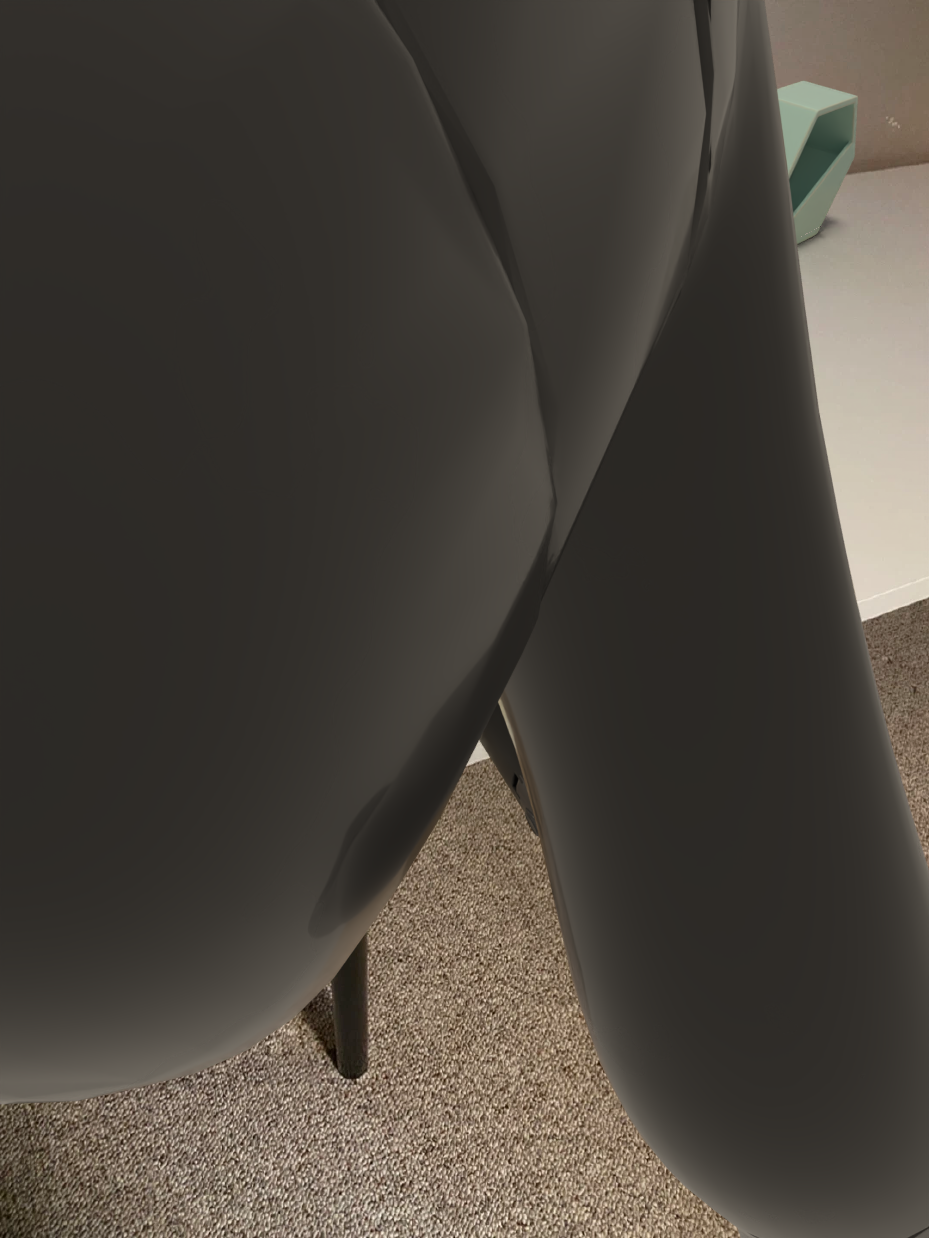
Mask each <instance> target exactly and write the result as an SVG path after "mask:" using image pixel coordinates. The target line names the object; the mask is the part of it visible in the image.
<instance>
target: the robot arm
mask: <svg viewBox="0 0 929 1238" xmlns="http://www.w3.org/2000/svg"><path fill="white" fill-rule="evenodd" d="M768 22H769V21H768V14H767V7H766V0H0V1105H17V1104H18V1105H19V1104H20V1105H21V1104H45V1103H67V1102H68V1103H69V1102H80V1101H85V1100H90V1099H93V1098H98V1097H103V1096H108V1095H111V1094H116V1093H121V1092H126V1091H130V1090H135V1089H139V1088H143V1087H147V1086H151V1085H155V1084H159V1083H164V1082H169V1081H172V1080H175V1079H179V1078H183V1077H188V1076H191V1075H195V1074H197V1073H199V1072H202V1071H204V1070H206V1069H209V1068H211V1067H213V1066H215V1065H218V1064H220V1063H222V1062H225V1061H226V1060H228V1059H231V1058H234V1057H236V1056H238V1055H241V1054H243V1053H245V1052H246V1051H249V1050H250V1049H251V1048H253V1047H254V1046H256V1045H257V1044H258V1043H260V1042H261V1041H263V1040H264V1039H265V1038H267V1037H268V1036H270V1035H271V1034H273V1033H274V1032H276V1031H277V1030H279V1029H280V1028H282V1027H284V1025H286V1024H287V1023H289V1022H291V1021H292V1020H293V1019H294V1018H295V1017H297V1016H298V1015H299V1013H301V1012H302V1010H304V1009H305V1007H306V1006H308V1004H310V1003H311V1001H313V1000H314V998H316V997H317V995H319V994H320V992H322V991H323V990H324V989H325V987H327V985H329V983H331V981H333V979H335V977H336V976H337V975H338V973H339V971H340V970H341V969H342V967H343V966H344V964H345V963H346V962H347V960H348V959H349V958H350V956H351V954H352V953H353V952H354V951H355V949H356V948H357V946H358V945H359V943H360V942H361V941H362V939H363V937H364V936H365V935H366V934H367V932H368V931H369V930H370V928H371V927H372V925H373V924H374V923H375V921H376V920H377V918H378V917H379V915H380V914H381V913H382V911H383V910H384V908H385V907H386V906H387V904H388V902H389V901H390V900H391V899H392V897H393V895H394V894H395V893H396V892H397V890H398V888H399V886H400V885H401V884H402V882H403V880H404V879H405V876H406V875H407V873H408V872H409V870H410V869H411V867H412V866H413V864H414V862H415V861H416V859H417V857H418V856H419V854H420V852H421V851H422V849H423V847H424V846H425V844H426V842H427V841H428V840H429V838H430V836H431V835H432V832H433V831H434V830H435V827H436V826H437V824H438V822H439V821H440V819H441V817H442V815H443V813H444V811H445V809H446V808H447V805H448V803H449V801H450V800H451V798H452V795H453V793H454V792H455V790H456V788H457V785H458V783H459V781H460V779H461V777H462V776H463V773H464V771H465V770H466V768H467V766H468V763H469V762H470V759H471V757H472V756H473V753H474V751H475V749H476V747H477V746H478V743H480V744H481V745H482V747H483V749H484V750H485V752H486V754H487V755H488V757H489V758H490V760H491V762H492V763H493V765H494V767H495V768H496V770H497V771H498V773H499V774H500V775H501V778H502V779H503V780H504V782H505V784H506V785H507V787H508V788H509V790H510V792H511V793H512V795H513V797H514V798H515V800H516V801H517V803H518V805H519V807H521V810H522V811H523V812H524V817H525V819H526V821H527V823H528V826H529V827H530V829H531V830H532V832H533V834H534V835H535V837H538V839H539V842H540V847H541V851H542V856H543V860H544V863H545V868H546V873H547V876H548V881H549V885H550V889H551V894H552V899H553V903H554V907H555V911H556V916H557V920H558V925H559V929H560V933H561V939H562V943H563V946H564V951H565V956H566V961H567V965H568V969H569V974H570V977H571V980H572V984H573V987H574V991H575V994H576V997H577V1001H578V1004H579V1007H580V1010H581V1013H582V1016H583V1018H584V1021H585V1025H586V1027H587V1030H588V1033H589V1036H590V1039H591V1041H592V1044H593V1047H594V1049H595V1052H596V1055H597V1058H598V1061H599V1063H600V1065H601V1068H602V1069H603V1071H604V1074H605V1076H606V1078H607V1080H608V1083H609V1084H610V1086H611V1089H612V1090H613V1092H614V1093H615V1095H616V1097H617V1099H618V1100H619V1103H620V1104H621V1106H622V1108H623V1110H624V1112H625V1113H626V1115H627V1117H628V1119H629V1121H630V1122H631V1123H632V1124H633V1126H634V1128H635V1129H636V1131H637V1132H638V1134H639V1136H640V1137H641V1139H642V1140H643V1142H645V1144H646V1145H647V1146H648V1147H649V1149H650V1150H651V1151H652V1152H653V1154H654V1155H655V1156H656V1157H657V1159H658V1160H660V1162H661V1163H662V1164H663V1165H664V1167H665V1168H666V1169H667V1170H668V1171H669V1172H670V1174H672V1175H673V1176H674V1178H676V1179H677V1181H679V1182H680V1184H682V1186H683V1187H685V1188H686V1189H687V1190H688V1191H690V1192H691V1193H692V1194H693V1195H695V1196H696V1198H698V1199H700V1200H701V1201H702V1202H703V1203H704V1204H706V1205H707V1206H708V1208H711V1209H712V1210H713V1211H714V1212H716V1213H717V1214H718V1215H719V1216H721V1217H722V1218H724V1219H725V1220H726V1221H727V1222H729V1223H730V1224H732V1225H733V1226H734V1227H736V1228H737V1231H738V1234H739V1238H929V865H928V862H927V859H926V855H925V852H924V849H923V846H922V843H921V839H920V837H919V833H918V829H917V827H916V823H915V820H914V816H913V813H912V809H911V807H910V803H909V799H908V796H907V792H906V789H905V786H904V782H903V779H902V776H901V772H900V769H899V766H898V765H899V764H898V762H897V759H896V755H895V752H894V748H893V743H892V740H891V737H890V733H889V729H888V724H887V722H886V721H887V720H886V716H885V712H884V709H883V705H882V701H881V697H880V693H879V689H878V685H877V682H876V676H875V672H874V668H873V663H872V659H871V655H870V651H869V646H868V642H867V639H866V633H865V629H864V624H863V621H862V617H861V613H860V607H859V603H858V599H857V594H856V590H855V585H854V581H853V577H852V572H851V567H850V563H849V558H848V554H847V549H846V544H845V540H844V534H843V528H842V524H841V520H840V515H839V514H840V513H839V508H838V503H837V499H836V494H835V493H836V492H835V488H834V483H833V482H834V481H833V477H832V471H831V467H830V462H829V461H830V460H829V457H828V456H829V455H828V451H827V446H826V439H825V435H824V429H823V424H822V419H821V413H820V408H819V399H818V393H817V392H818V391H817V386H816V385H817V384H816V377H815V371H814V369H815V368H814V362H813V356H812V354H813V353H812V347H811V340H810V334H809V332H810V331H809V326H808V325H809V324H808V318H807V309H806V304H805V296H804V287H803V280H802V271H801V263H800V256H799V248H798V247H799V246H798V244H797V239H796V231H795V223H794V215H793V207H792V199H791V191H790V183H789V175H788V167H787V160H786V152H785V145H784V137H783V130H782V122H781V115H780V107H779V100H778V92H777V89H778V86H777V85H778V84H777V79H776V77H777V76H776V71H775V63H774V59H773V57H774V56H773V50H772V42H771V36H770V28H769V23H768Z"/></svg>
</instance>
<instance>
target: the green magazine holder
mask: <svg viewBox="0 0 929 1238" xmlns="http://www.w3.org/2000/svg"><path fill="white" fill-rule="evenodd" d="M777 92H778V100H779V107H780V115H781V122H782V130H783V137H784V145H785V152H786V160H787V167H788V175H789V183H790V191H791V199H792V207H793V215H794V223H795V231H796V239H797V245H799V244H801V243H803V242H804V241H807V240H809V239H811V238H812V237H814V236H816V235H817V234H818V232H819V231H820V229H821V227H822V225H823V223H824V221H825V219H826V217H827V215H828V213H829V210H830V209H831V206H832V205H833V202H834V200H835V198H836V197H837V195H838V192H839V190H840V189H841V186H842V184H843V182H844V180H845V178H846V176H847V174H848V172H849V170H850V168H851V166H852V164H853V162H854V159H855V156H856V141H857V125H858V123H857V122H858V105H859V96H858V95H857V94H856V95H855V94H852V93H850V92H846V91H841V90H838V89H835V88H831V87H828V86H824V85H820V84H817V83H814V82H810V81H807V80H801V81H798V82H794V83H791V84H788V85H785V86H781V87H779V88H777ZM820 226H821V227H820ZM818 227H819V228H818ZM816 228H817V229H816ZM814 229H815V230H814ZM811 231H812V232H811ZM809 232H810V233H809ZM806 233H808V234H806ZM805 234H806V235H805ZM801 236H802V237H801Z"/></svg>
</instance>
